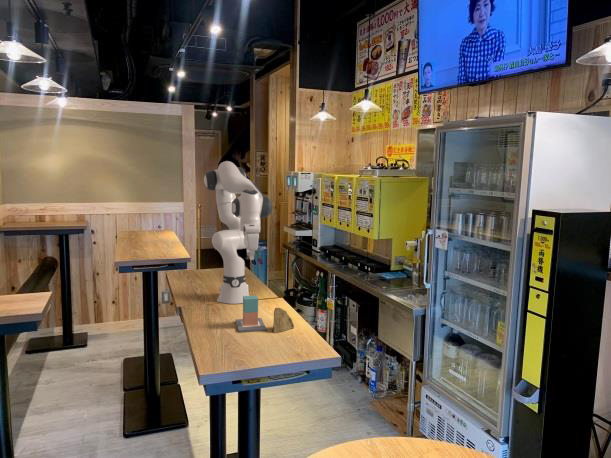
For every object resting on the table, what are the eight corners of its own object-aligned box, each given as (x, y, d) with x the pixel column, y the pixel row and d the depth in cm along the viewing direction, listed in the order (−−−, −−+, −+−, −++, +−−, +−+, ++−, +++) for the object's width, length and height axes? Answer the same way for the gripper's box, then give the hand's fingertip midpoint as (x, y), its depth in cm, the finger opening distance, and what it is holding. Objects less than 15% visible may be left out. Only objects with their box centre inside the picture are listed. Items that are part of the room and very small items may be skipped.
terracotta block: (242, 321, 209) (242, 309, 209) (256, 321, 211) (256, 308, 210) (244, 326, 203) (244, 312, 203) (257, 325, 205) (257, 312, 204)
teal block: (243, 309, 209) (242, 296, 208) (256, 308, 210) (256, 295, 209) (244, 312, 203) (244, 299, 202) (258, 312, 204) (258, 298, 204)
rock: (294, 319, 209) (272, 317, 208) (297, 308, 204) (274, 305, 202) (293, 340, 201) (270, 337, 200) (296, 329, 196) (273, 326, 194)
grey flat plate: (235, 321, 213) (235, 319, 213) (261, 319, 216) (261, 317, 216) (238, 332, 198) (238, 330, 198) (266, 330, 201) (266, 328, 201)
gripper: (240, 224, 212) (240, 254, 213) (245, 229, 192) (245, 262, 193) (254, 224, 213) (254, 253, 215) (260, 229, 193) (260, 261, 195)
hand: (250, 257), depth 204 cm, fingers open, 8 cm apart
